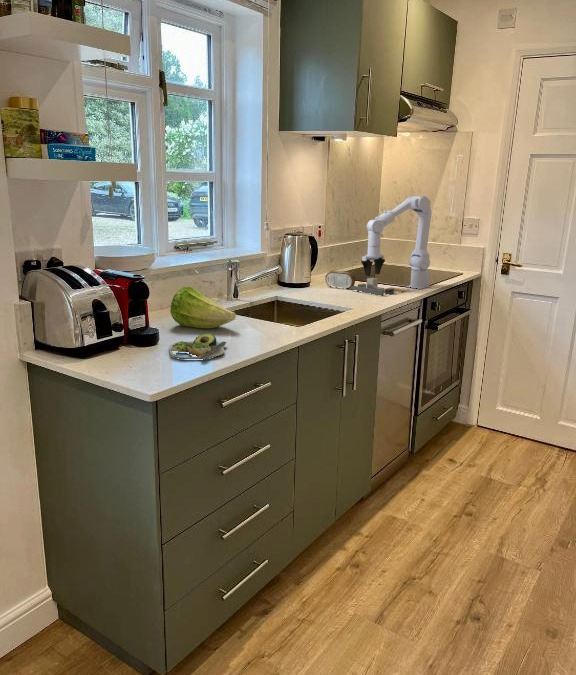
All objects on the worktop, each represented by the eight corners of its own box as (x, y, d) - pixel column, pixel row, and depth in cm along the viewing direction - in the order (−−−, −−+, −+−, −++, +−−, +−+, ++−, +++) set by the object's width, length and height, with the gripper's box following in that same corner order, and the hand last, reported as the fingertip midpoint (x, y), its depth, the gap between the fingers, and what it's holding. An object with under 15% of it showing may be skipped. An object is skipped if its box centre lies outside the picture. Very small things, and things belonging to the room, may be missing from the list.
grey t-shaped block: (371, 290, 278) (371, 277, 276) (384, 292, 273) (384, 279, 271) (366, 290, 276) (367, 278, 274) (379, 293, 270) (380, 280, 269)
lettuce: (246, 330, 207) (221, 343, 195) (192, 317, 218) (165, 329, 206) (246, 291, 202) (221, 303, 190) (190, 280, 213) (163, 290, 201)
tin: (355, 289, 279) (355, 272, 277) (352, 290, 277) (353, 273, 274) (327, 286, 287) (327, 269, 284) (324, 287, 284) (324, 270, 282)
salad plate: (231, 363, 168) (231, 347, 167) (169, 366, 165) (168, 350, 163) (225, 344, 186) (225, 330, 185) (169, 347, 183) (168, 333, 182)
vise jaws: (361, 288, 282) (361, 283, 282) (394, 293, 269) (395, 288, 268) (349, 290, 276) (349, 285, 275) (383, 296, 263) (383, 291, 262)
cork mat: (391, 288, 283) (391, 287, 283) (408, 290, 276) (408, 290, 276) (381, 290, 278) (381, 289, 278) (399, 293, 271) (399, 292, 271)
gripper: (376, 244, 278) (374, 272, 281) (357, 246, 268) (356, 275, 271) (388, 245, 273) (386, 274, 276) (369, 247, 263) (368, 277, 267)
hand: (372, 274), depth 274 cm, fingers open, 7 cm apart
